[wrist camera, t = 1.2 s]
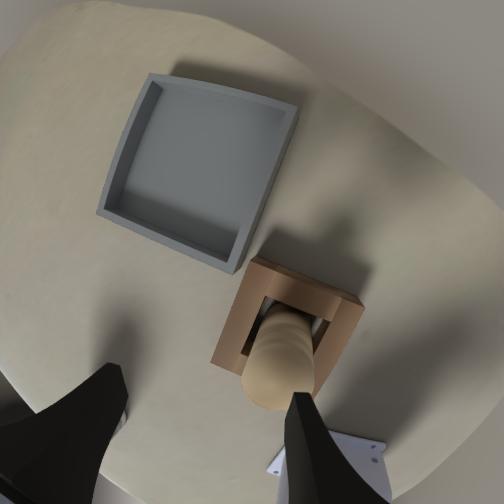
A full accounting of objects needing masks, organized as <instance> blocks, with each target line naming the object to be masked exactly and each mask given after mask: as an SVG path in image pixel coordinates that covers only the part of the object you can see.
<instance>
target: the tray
mask: <svg viewBox="0 0 504 504" xmlns="http://www.w3.org/2000/svg"><path fill="white" fill-rule="evenodd" d="M297 121H298V106H295V105H292V104H289V103H285V102H282V101H279V100H276V99H272V98H269V97H266V96H262V95H258V94H255V93H251V92H247V91H243V90H239V89H235V88H231V87H227V86H222V85H218V84H213V83H209V82H204V81H198V80H193V79H187V78H181V77H175V76H169V75H162V74H154V73H149V75H148V77H147V79H146V81H145V83H144V85H143V87H142V89H141V91H140V93H139V96H138V98H137V100H136V102H135V104H134V107H133V109H132V111H131V114H130V116H129V118H128V121H127V123H126V126H125V128H124V131H123V133H122V136H121V138H120V141H119V144H118V146H117V149H116V152H115V155H114V157H113V160H112V163H111V166H110V169H109V172H108V175H107V178H106V182H105V185H104V188H103V191H102V195H101V198H100V202H99V205H98V209H97V213H96V214H97V215H99V216H101V217H104V218H106V219H108V220H110V221H112V222H114V223H116V224H119V225H121V226H123V227H125V228H127V229H129V230H132V231H134V232H136V233H138V234H140V235H142V236H145V237H147V238H149V239H151V240H153V241H156V242H158V243H160V244H162V245H165V246H167V247H169V248H171V249H173V250H176V251H178V252H180V253H183V254H185V255H187V256H189V257H192V258H194V259H196V260H198V261H201V262H203V263H205V264H208V265H210V266H212V267H215V268H217V269H219V270H222V271H224V272H226V273H229V274H231V275H233V274H234V273H236V272H237V271H238V270H239V269H240V268H241V265H242V263H243V260H244V258H245V255H246V252H247V250H248V247H249V245H250V242H251V239H252V237H253V234H254V232H255V229H256V227H257V224H258V221H259V219H260V216H261V214H262V211H263V208H264V206H265V203H266V201H267V198H268V196H269V193H270V190H271V188H272V185H273V183H274V180H275V178H276V175H277V172H278V170H279V167H280V165H281V162H282V160H283V157H284V155H285V152H286V149H287V147H288V144H289V142H290V139H291V137H292V134H293V132H294V129H295V126H296V124H297Z"/></svg>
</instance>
